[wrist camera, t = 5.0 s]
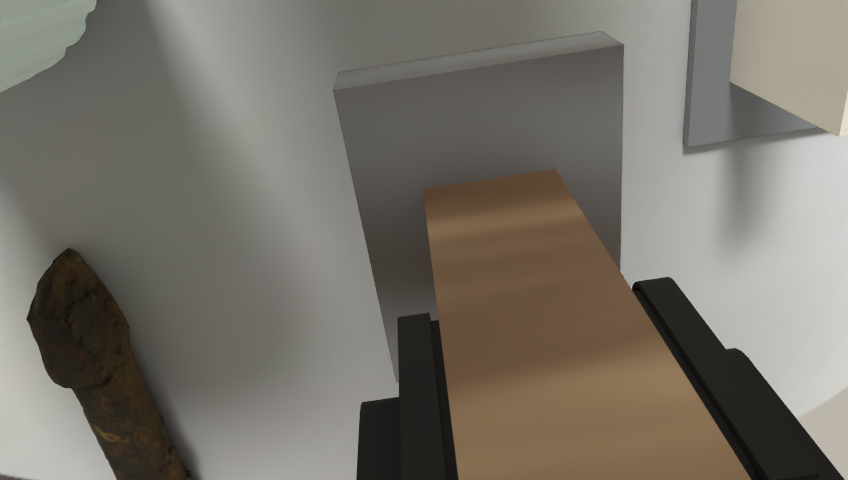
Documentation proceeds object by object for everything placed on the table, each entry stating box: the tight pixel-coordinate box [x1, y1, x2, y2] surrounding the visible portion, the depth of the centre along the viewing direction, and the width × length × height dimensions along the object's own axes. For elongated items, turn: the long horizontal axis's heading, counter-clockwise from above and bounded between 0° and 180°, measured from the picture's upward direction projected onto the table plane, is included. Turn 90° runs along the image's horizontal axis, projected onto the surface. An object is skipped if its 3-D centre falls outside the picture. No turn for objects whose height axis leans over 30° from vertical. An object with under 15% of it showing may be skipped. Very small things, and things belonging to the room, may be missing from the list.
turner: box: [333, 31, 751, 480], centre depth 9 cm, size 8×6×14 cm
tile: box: [729, 0, 848, 137], centre depth 23 cm, size 8×2×8 cm, turn 8°
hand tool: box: [27, 248, 191, 480], centre depth 35 cm, size 19×4×5 cm, turn 4°
